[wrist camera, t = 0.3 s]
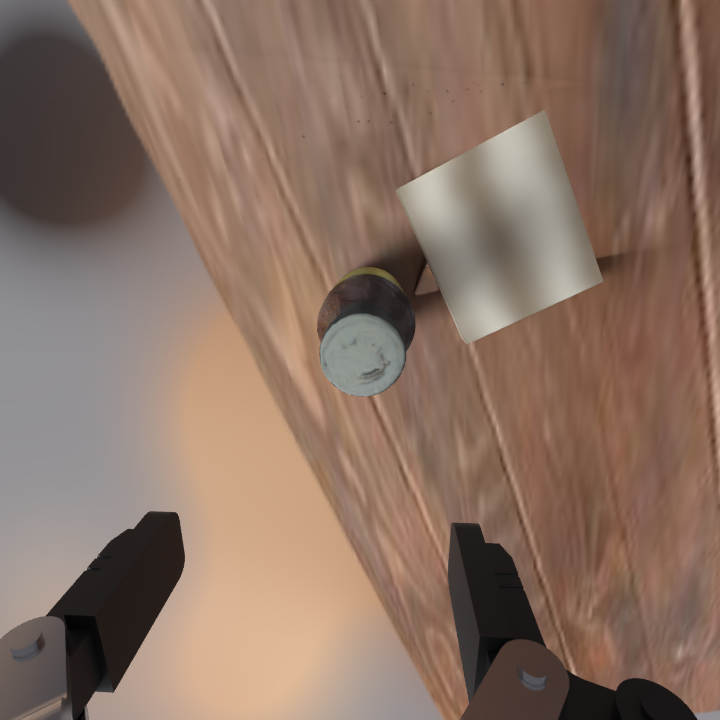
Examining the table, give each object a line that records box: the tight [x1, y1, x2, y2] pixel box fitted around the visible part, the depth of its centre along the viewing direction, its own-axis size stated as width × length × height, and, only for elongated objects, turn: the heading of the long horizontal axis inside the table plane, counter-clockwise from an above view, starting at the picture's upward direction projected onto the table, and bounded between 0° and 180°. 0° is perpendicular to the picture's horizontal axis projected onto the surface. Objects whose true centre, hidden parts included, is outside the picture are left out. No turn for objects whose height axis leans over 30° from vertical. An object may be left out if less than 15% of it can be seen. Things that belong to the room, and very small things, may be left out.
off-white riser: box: [395, 110, 603, 344], centre depth 36 cm, size 12×14×3 cm
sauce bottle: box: [317, 267, 415, 397], centre depth 29 cm, size 7×6×20 cm
